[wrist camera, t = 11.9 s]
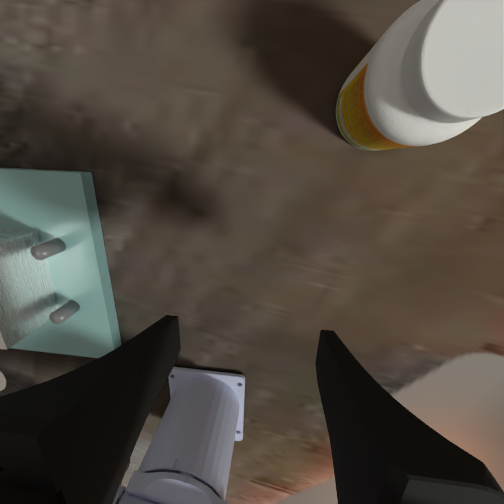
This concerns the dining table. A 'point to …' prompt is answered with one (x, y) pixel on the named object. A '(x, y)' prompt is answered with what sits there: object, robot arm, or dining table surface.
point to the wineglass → (2, 381)
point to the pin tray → (65, 258)
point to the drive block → (23, 287)
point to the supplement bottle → (426, 76)
